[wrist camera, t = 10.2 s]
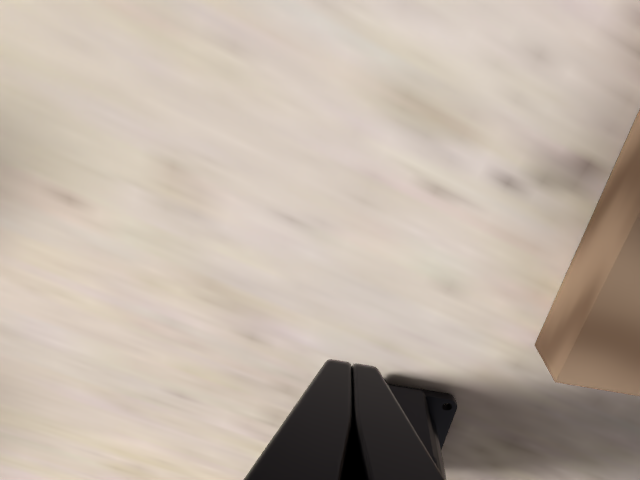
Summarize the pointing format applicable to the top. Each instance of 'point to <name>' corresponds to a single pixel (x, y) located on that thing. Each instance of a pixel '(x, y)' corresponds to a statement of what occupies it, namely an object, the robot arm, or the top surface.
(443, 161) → the top surface
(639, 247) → the trap board
